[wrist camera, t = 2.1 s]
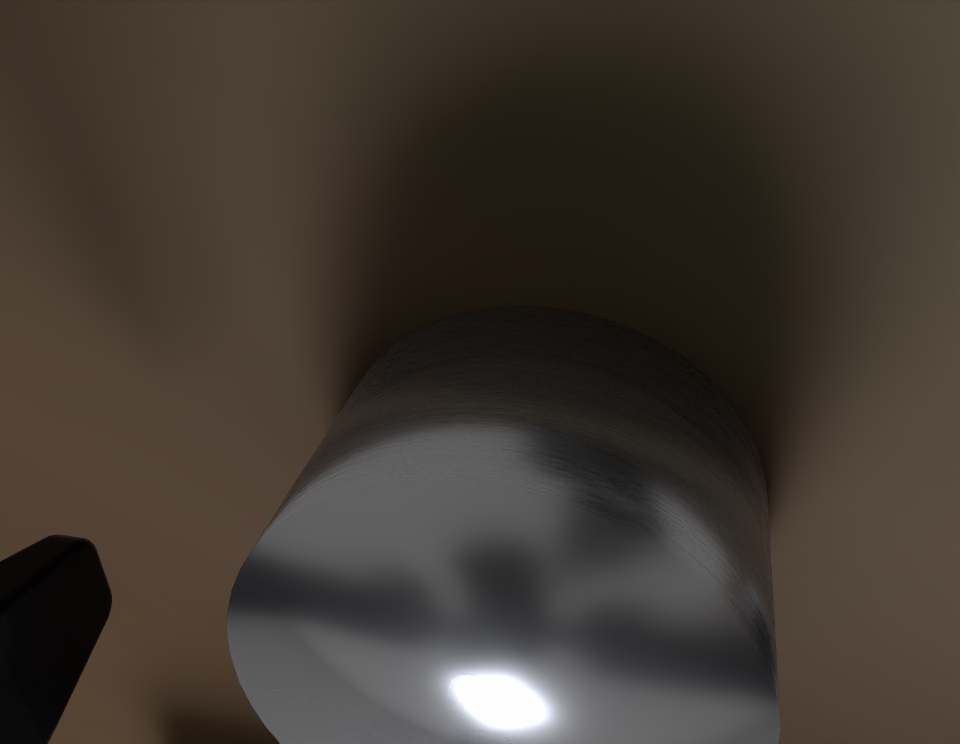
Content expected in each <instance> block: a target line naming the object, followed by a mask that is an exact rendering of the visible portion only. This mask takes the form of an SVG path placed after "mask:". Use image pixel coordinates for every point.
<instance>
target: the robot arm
mask: <svg viewBox="0 0 960 744" xmlns="http://www.w3.org/2000/svg"><path fill="white" fill-rule="evenodd" d="M111 604H112V594H111V590H110V587H109V584H108V581H107V578H106V575H105V573H104V570H103V567H102V564H101V561H100V558H99V555H98V553H97V550H96V548H95V546H94V544H93V543H92V542H91V541H89V540H87V539H85V538H79V537H72V536H65V535H52V536H48V537H46V538H44V539H42V540H40V541H38V542H36V543H34V544H33V545H31V546H29V547H27V548H25V549H23V550H21V551H19V552H17V553H15V554H14V555H12V556H10V557H8V558H6V559H4V560H2V561H0V744H48V742H49V740H50V738H51V736H52V734H53V732H54V730H55V728H56V726H57V724H58V722H59V720H60V718H61V716H62V714H63V712H64V710H65V708H66V705H67V703H68V701H69V699H70V697H71V695H72V693H73V691H74V689H75V687H76V684H77V682H78V680H79V678H80V676H81V674H82V672H83V670H84V668H85V665H86V663H87V661H88V659H89V657H90V655H91V653H92V651H93V649H94V646H95V644H96V642H97V640H98V638H99V636H100V634H101V632H102V630H103V628H104V625H105V623H106V621H107V619H108V616H109V614H110V610H111Z"/></svg>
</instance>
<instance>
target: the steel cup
mask: <svg viewBox="0 0 960 744" xmlns="http://www.w3.org/2000/svg"><path fill="white" fill-rule="evenodd" d="M227 637H228V642H229V648H230V653H231V659H232V662H233V665H234V668H235V670H236V673H237V676H238V679H239V682H240V684H241V686H242V688H243V690H244V692H245V694H246V696H247V698H248V700H249V702H250V704H251V705H252V707H253V708H254V710H255V711H256V713H257V714H258V716H259V717H260V719H261V720H262V722H263V723H264V725H265V726H266V727H267V729H268V730H269V731H270V732H271V733H272V735H273V736H274V737H275V738H276V739H277V740H278V742H279V743H280V744H779V736H780V712H779V694H778V675H777V657H776V639H775V621H774V602H773V584H772V566H771V548H770V530H769V511H768V497H767V486H766V477H765V473H764V470H763V466H762V462H761V458H760V455H759V452H758V450H757V448H756V445H755V443H754V441H753V439H752V436H751V434H750V432H749V430H748V428H747V427H746V425H745V423H744V422H743V420H742V419H741V417H740V416H739V414H738V413H737V411H736V410H735V408H734V406H733V405H732V404H731V403H730V402H729V401H728V399H727V398H726V397H725V396H724V395H723V394H722V392H721V391H720V390H719V389H718V388H717V387H716V386H715V384H714V383H713V382H711V381H710V380H709V379H708V378H707V377H706V376H705V375H703V374H702V373H701V372H700V371H699V370H698V369H697V368H696V367H694V366H693V365H692V364H691V363H690V362H688V361H687V360H685V359H684V358H682V357H681V356H679V355H678V354H676V353H675V352H674V351H672V350H671V349H669V348H668V347H666V346H665V345H663V344H661V343H659V342H657V341H655V340H653V339H651V338H649V337H647V336H645V335H644V334H642V333H640V332H638V331H636V330H633V329H630V328H628V327H625V326H623V325H620V324H617V323H615V322H612V321H609V320H607V319H603V318H599V317H596V316H592V315H588V314H584V313H580V312H576V311H570V310H563V309H555V308H548V307H531V306H507V307H497V308H488V309H479V310H475V311H471V312H466V313H462V314H458V315H454V316H450V317H448V318H445V319H442V320H440V321H437V322H435V323H432V324H429V325H427V326H425V327H423V328H421V329H419V330H417V331H416V332H414V333H412V334H410V335H408V336H406V337H405V338H403V339H402V340H400V341H399V342H398V343H396V344H395V345H394V346H392V347H391V348H390V349H389V350H387V351H386V352H385V353H383V354H382V355H381V356H380V358H379V359H378V360H377V361H376V362H375V363H374V364H373V365H372V366H371V367H370V368H369V369H368V370H367V371H366V373H365V374H364V376H363V377H362V379H361V380H360V382H359V383H358V385H357V386H356V388H355V389H354V391H353V392H352V394H351V396H350V397H349V399H348V400H347V402H346V403H345V405H344V407H343V408H342V410H341V411H340V413H339V414H338V416H337V418H336V419H335V421H334V422H333V424H332V425H331V427H330V429H329V430H328V432H327V433H326V435H325V436H324V438H323V440H322V441H321V443H320V444H319V446H318V447H317V449H316V451H315V452H314V454H313V455H312V457H311V458H310V460H309V462H308V463H307V465H306V466H305V468H304V469H303V471H302V473H301V474H300V476H299V477H298V479H297V480H296V482H295V484H294V485H293V487H292V488H291V490H290V491H289V493H288V495H287V496H286V498H285V499H284V501H283V503H282V504H281V506H280V507H279V509H278V510H277V512H276V514H275V515H274V517H273V518H272V520H271V521H270V523H269V525H268V526H267V528H266V529H265V531H264V532H263V534H262V536H261V537H260V539H259V540H258V542H257V543H256V545H255V547H254V548H253V550H252V551H251V553H250V554H249V556H248V558H247V559H246V561H245V562H244V564H243V565H242V567H241V569H240V571H239V574H238V576H237V578H236V581H235V583H234V586H233V588H232V591H231V596H230V601H229V607H228V612H227Z"/></svg>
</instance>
